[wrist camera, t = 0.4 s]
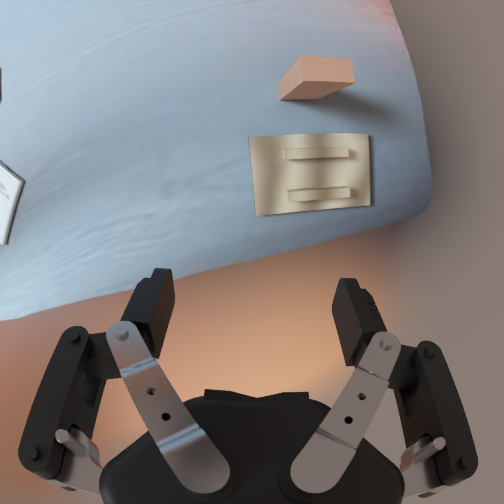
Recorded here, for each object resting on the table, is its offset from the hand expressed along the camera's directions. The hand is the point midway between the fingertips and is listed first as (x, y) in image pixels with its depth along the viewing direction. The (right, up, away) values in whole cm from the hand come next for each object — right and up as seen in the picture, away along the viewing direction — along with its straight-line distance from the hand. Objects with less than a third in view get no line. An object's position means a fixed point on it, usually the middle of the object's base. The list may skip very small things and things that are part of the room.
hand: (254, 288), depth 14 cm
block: (+6, +22, +19) cm, 30 cm away
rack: (+8, +12, +23) cm, 27 cm away
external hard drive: (-42, +10, +20) cm, 48 cm away
